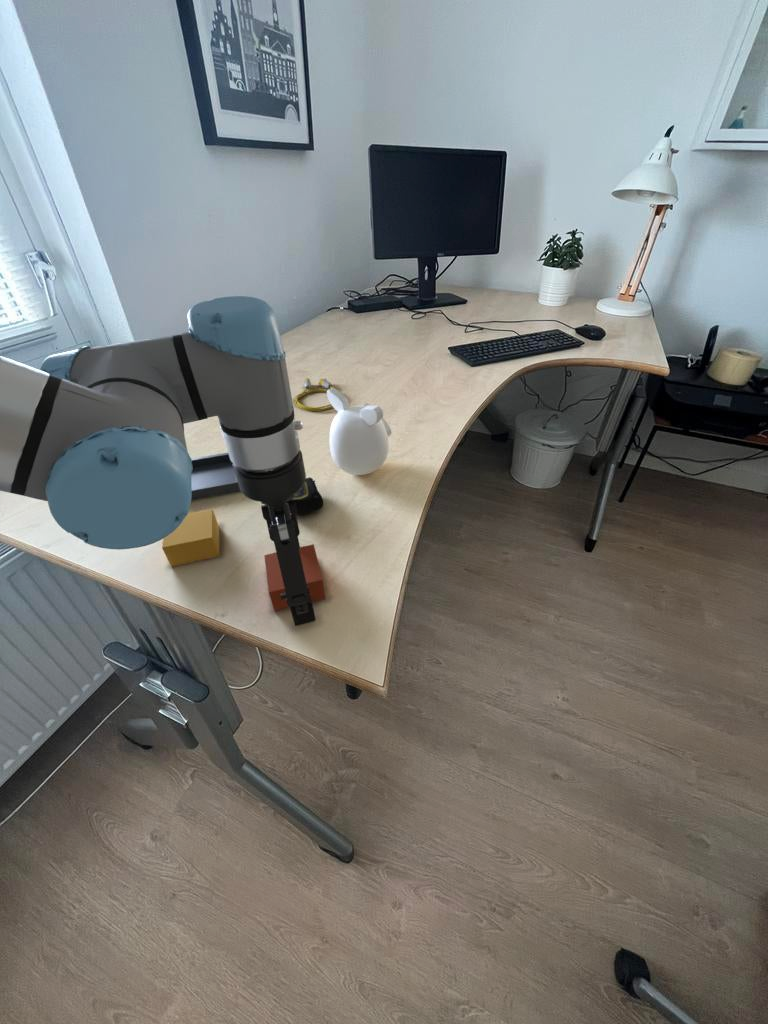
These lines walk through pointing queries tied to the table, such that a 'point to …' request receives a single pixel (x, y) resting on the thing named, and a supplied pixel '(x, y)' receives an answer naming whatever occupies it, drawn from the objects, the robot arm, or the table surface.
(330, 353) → the table surface
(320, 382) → the coiled yellow cable
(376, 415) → the white bunny figurine
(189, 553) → the pad mustard
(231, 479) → the tray
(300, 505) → the tape measure
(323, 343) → the table surface
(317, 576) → the pad terracotta
